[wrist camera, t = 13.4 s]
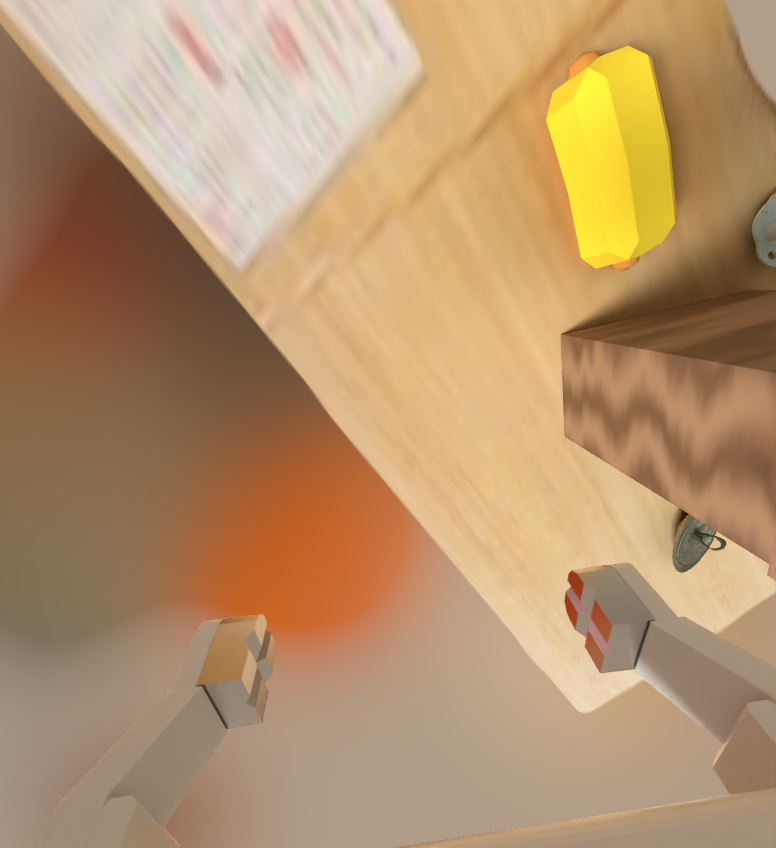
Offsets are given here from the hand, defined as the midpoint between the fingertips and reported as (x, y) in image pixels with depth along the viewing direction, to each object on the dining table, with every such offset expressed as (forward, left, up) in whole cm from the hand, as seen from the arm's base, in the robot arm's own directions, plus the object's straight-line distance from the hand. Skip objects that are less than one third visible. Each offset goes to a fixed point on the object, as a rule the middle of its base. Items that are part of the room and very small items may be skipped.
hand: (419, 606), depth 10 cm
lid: (+30, +39, -31) cm, 58 cm away
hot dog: (-13, +26, -31) cm, 42 cm away
